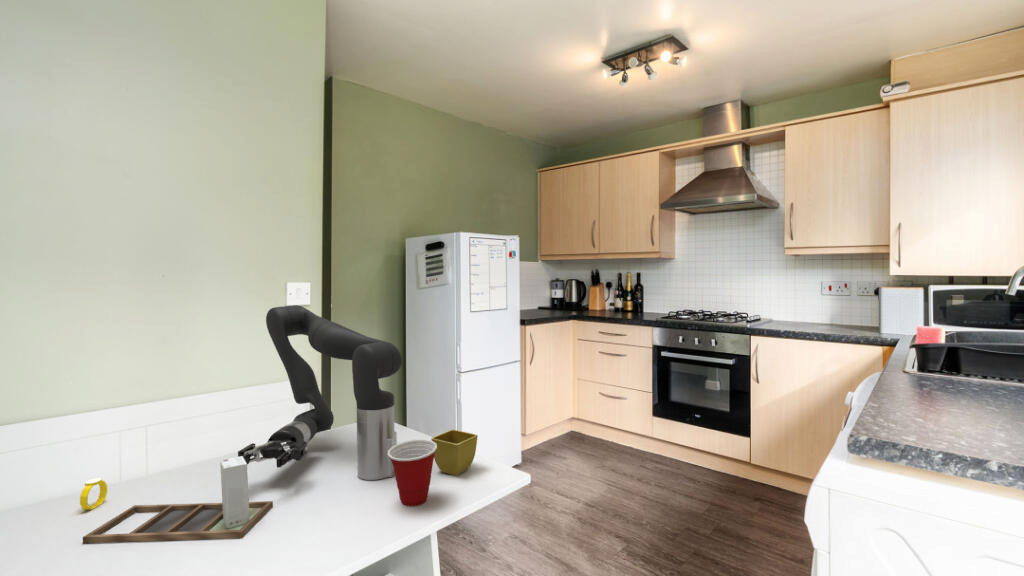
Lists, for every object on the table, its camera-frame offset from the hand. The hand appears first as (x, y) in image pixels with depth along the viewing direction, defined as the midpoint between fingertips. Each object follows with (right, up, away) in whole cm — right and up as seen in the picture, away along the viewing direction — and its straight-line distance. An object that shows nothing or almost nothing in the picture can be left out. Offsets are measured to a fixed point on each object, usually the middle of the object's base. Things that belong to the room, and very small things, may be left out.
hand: (258, 463), depth 103 cm
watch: (-35, -9, -1) cm, 37 cm away
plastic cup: (+35, -8, 0) cm, 36 cm away
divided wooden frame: (-10, -9, -9) cm, 16 cm away
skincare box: (0, -8, -9) cm, 12 cm away
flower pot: (+42, -8, +16) cm, 45 cm away
